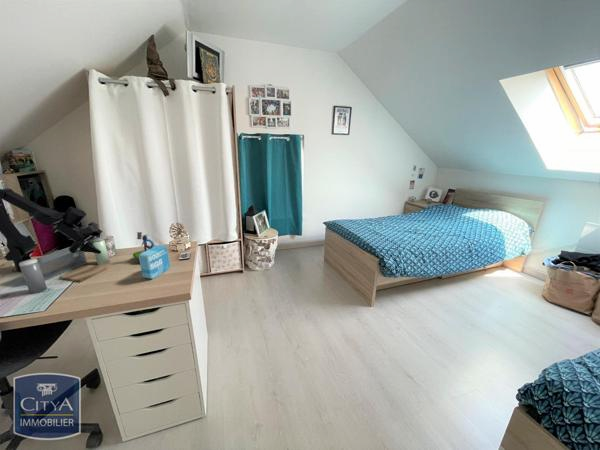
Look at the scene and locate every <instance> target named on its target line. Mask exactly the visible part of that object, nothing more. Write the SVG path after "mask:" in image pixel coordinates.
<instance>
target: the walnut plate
mask: <svg viewBox="0 0 600 450" xmlns="http://www.w3.org/2000/svg"><path fill="white" fill-rule="evenodd" d="M106 270H108V268H107V267H106V266H101V265H93V264H83V266H82V265H81V266H79V267H77V268H74V270H73V269H72V271H71V270H70V271H67V272H65V273H63V274H61V275H58V276H59V279H60V280H66V281H71V282H77V283H83V282H84V281H86V280H88V279H90V278H92V277H94V276H97V275H98V274H100V273H103V272H105V271H106Z"/></svg>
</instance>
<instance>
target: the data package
mask: <svg viewBox="0 0 600 450" xmlns="http://www.w3.org/2000/svg"><path fill="white" fill-rule="evenodd" d="M146 250H147V251H145V252H143V253H141V254H140V255H139V259H138V260H139V264H140V270H141V275H142V277H143V278H144V279H145V278H146V279H151V280H153V279H155V278H157V277H158V276H160V275H162V274H163V273H164V272H166V271H168V270H169V269H170V267H171V263H170V258H169V252H168V247H167V246H164V245H156V246H155V245H154V246H153V247H152V248H151V249H146Z"/></svg>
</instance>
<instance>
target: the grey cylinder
mask: <svg viewBox="0 0 600 450" xmlns="http://www.w3.org/2000/svg"><path fill="white" fill-rule="evenodd" d="M19 265H20V268H21V271H22V272H21V274H22V275H23V279H24V281H25V283H26V287H27V289H28V292H29V294H31V295H32V294H33V295H34V294H40V293H42V292H44V291H46V290H47V289H48V287H47V284H46V281H45V280H44V278H43V275H42V272H41V269H40V266H39V263H38V260H37V259H36V258H31V259H30V260H25V261H22V262H20V263H19Z"/></svg>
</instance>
